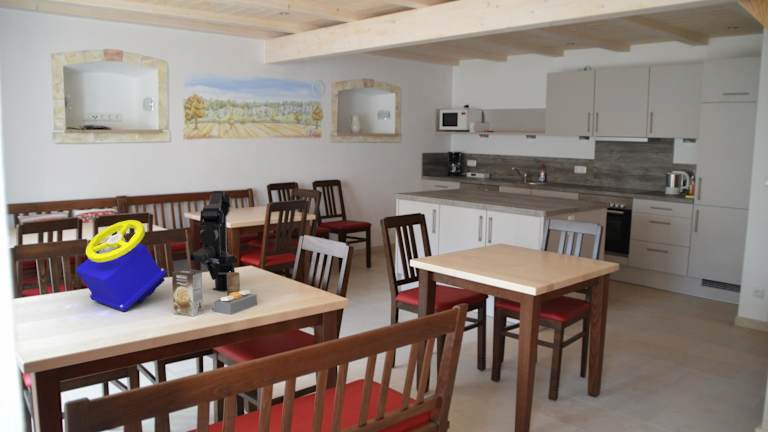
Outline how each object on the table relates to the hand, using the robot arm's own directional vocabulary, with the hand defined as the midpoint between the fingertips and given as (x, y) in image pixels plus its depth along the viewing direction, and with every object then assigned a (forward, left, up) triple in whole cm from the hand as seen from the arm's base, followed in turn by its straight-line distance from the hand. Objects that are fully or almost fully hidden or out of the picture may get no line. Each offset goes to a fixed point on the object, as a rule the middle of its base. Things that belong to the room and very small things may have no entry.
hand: (214, 279), depth 246 cm
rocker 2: (+11, +4, -5) cm, 12 cm away
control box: (-29, -17, -10) cm, 35 cm away
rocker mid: (+11, 0, -5) cm, 12 cm away
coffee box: (0, -14, -10) cm, 17 cm away
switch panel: (+11, 0, -10) cm, 15 cm away
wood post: (0, +11, -10) cm, 15 cm away
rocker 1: (+11, -5, -5) cm, 13 cm away
